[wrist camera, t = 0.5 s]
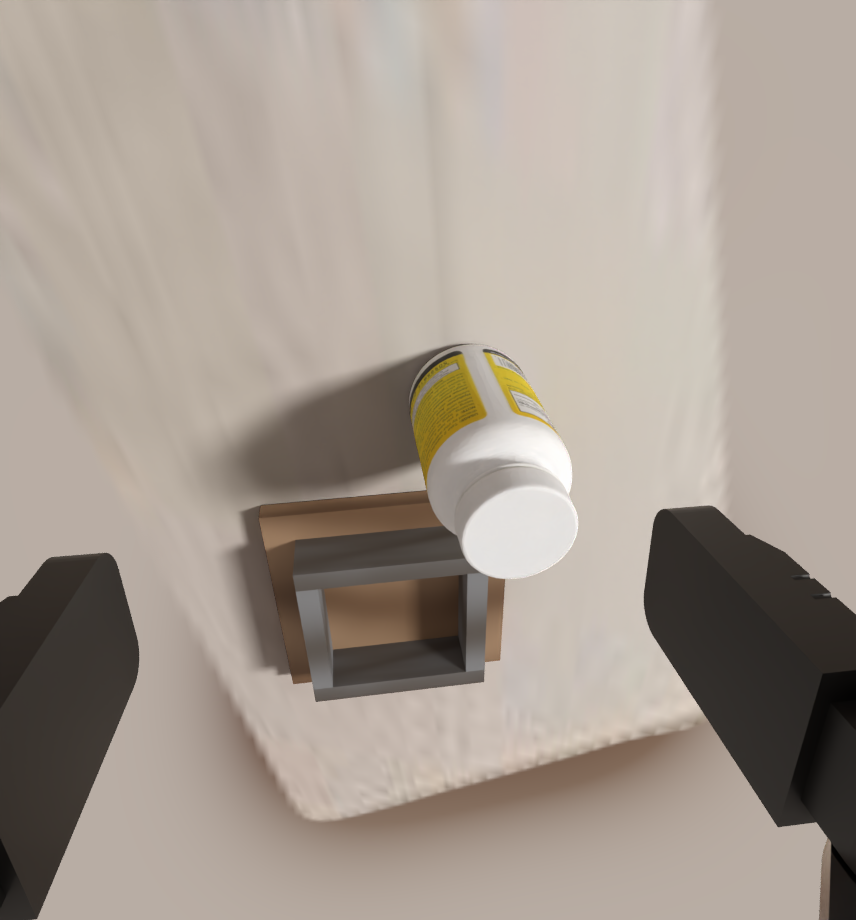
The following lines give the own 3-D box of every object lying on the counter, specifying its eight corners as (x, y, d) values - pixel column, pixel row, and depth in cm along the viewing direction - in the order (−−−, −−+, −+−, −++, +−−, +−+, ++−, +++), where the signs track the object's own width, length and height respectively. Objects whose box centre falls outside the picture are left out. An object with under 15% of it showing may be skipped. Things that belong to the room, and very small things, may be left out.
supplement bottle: (406, 450, 30) (434, 600, 22) (408, 341, 27) (440, 469, 19) (518, 445, 31) (585, 589, 23) (532, 339, 28) (614, 461, 20)
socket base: (260, 505, 31) (253, 553, 28) (505, 483, 32) (522, 527, 29) (294, 669, 38) (290, 722, 35) (496, 646, 39) (509, 696, 36)
